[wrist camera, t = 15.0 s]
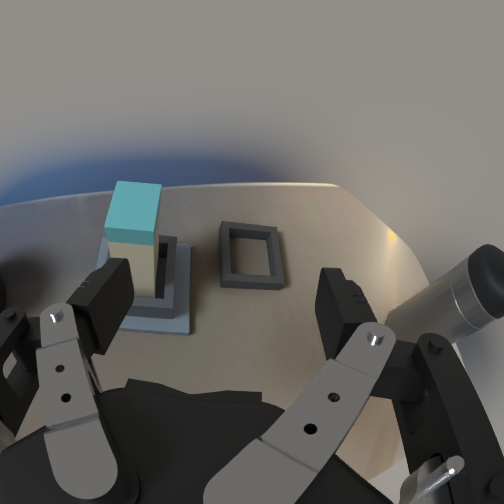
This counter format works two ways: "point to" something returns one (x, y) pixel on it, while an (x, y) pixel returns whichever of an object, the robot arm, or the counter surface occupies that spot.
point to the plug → (136, 232)
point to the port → (161, 291)
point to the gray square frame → (243, 279)
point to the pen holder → (2, 295)
